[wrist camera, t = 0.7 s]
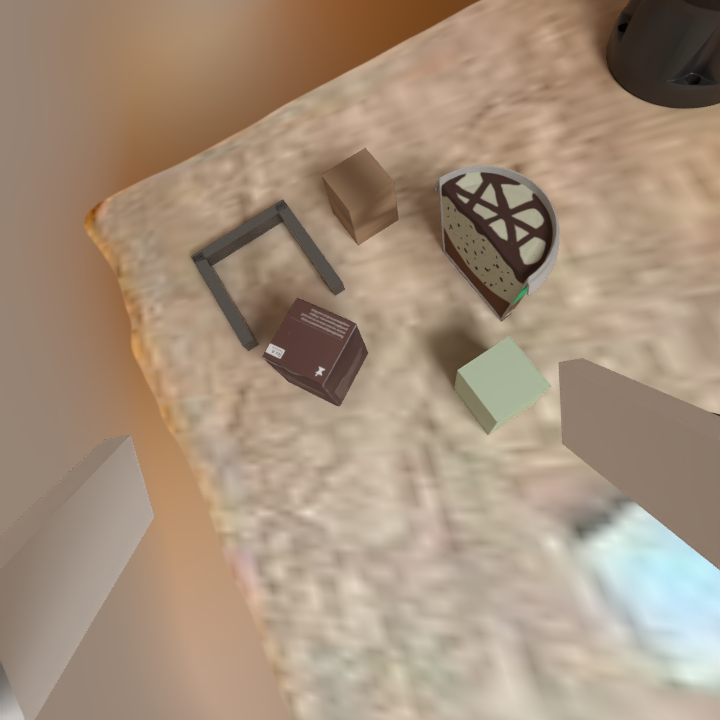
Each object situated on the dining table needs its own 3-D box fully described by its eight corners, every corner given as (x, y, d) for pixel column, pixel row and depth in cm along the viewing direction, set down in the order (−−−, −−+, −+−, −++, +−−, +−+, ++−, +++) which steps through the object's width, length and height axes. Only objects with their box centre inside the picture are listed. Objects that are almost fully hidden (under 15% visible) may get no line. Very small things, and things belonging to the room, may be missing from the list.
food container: (565, 298, 44) (602, 238, 35) (511, 333, 44) (533, 283, 34) (484, 209, 48) (497, 134, 39) (434, 241, 48) (435, 173, 39)
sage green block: (499, 359, 43) (509, 335, 38) (535, 403, 42) (551, 385, 36) (454, 389, 43) (457, 370, 37) (488, 435, 41) (497, 422, 36)
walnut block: (372, 188, 51) (365, 147, 45) (398, 219, 49) (394, 181, 44) (333, 213, 51) (321, 175, 45) (358, 245, 49) (348, 210, 43)
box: (370, 353, 45) (359, 323, 38) (340, 408, 44) (323, 388, 37) (316, 328, 47) (296, 295, 40) (285, 381, 46) (259, 356, 39)
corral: (287, 208, 52) (283, 199, 50) (344, 289, 48) (342, 282, 46) (197, 263, 51) (191, 256, 50) (248, 350, 47) (242, 345, 46)
